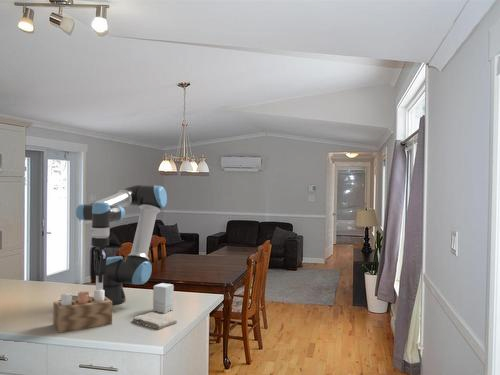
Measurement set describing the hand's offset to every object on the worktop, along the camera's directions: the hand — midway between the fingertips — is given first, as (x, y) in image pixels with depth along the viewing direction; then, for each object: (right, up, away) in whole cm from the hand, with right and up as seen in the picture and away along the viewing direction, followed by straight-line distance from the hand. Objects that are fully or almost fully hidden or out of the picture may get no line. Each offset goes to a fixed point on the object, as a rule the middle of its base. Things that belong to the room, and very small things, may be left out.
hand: (99, 289), depth 204 cm
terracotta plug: (-6, -10, -4) cm, 12 cm away
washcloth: (+24, -16, +2) cm, 29 cm away
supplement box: (+25, -15, +20) cm, 35 cm away
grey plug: (-12, -10, -8) cm, 17 cm away
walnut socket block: (-6, -15, -4) cm, 16 cm away
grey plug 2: (0, -10, 0) cm, 10 cm away
